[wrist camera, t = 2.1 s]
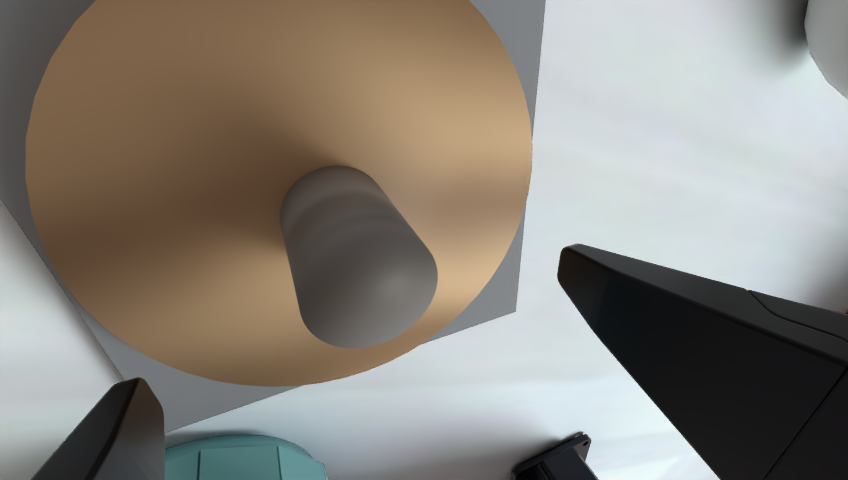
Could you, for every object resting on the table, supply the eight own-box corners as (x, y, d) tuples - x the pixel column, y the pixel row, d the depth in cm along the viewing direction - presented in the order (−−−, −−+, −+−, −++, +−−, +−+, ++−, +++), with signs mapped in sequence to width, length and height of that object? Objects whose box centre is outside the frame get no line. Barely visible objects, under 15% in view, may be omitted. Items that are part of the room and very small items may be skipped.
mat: (509, 305, 20) (515, 311, 19) (162, 423, 15) (161, 434, 15) (543, -95, 11) (555, -99, 11) (-179, -96, 7) (-204, -101, 7)
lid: (508, 306, 19) (578, 385, 15) (172, 421, 15) (152, 570, 11) (537, -77, 11) (694, -112, 7) (-138, -61, 7) (-560, -125, 3)
